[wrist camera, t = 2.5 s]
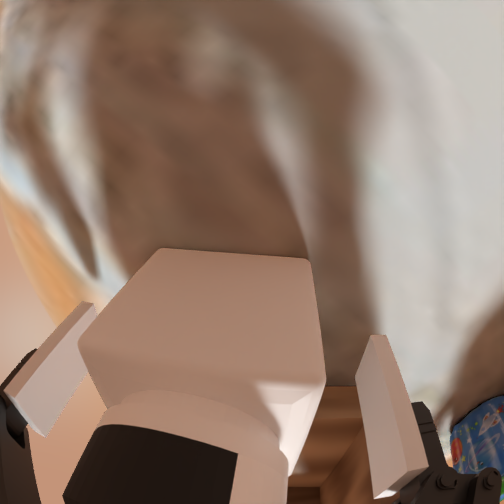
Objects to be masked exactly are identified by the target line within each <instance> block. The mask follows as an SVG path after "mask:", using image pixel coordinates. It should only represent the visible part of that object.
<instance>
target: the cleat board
mask: <svg viewBox="0 0 504 504" xmlns="http://www.w3.org/2000/svg"><path fill="white" fill-rule="evenodd" d="M399 497H400V492H399V491H398V492H397V493H395V494H394V495H393V496H389V497H383V498H377V499H374V497H373V488H372V479H371V471H370V463H369V456H368V449H367V443H366V436H365V430H364V424H363V418H362V412H361V407H360V402H359V396H358V391H357V386H325V387H324V390H323V393H322V396H321V399H320V402H319V405H318V408H317V411H316V414H315V416H314V419H313V422H312V425H311V427H310V430H309V433H308V435H307V438H306V440H305V443H304V446H303V448H302V451H301V453H300V455H299V458H298V460H297V463H296V465H295V467H294V470H293V472H292V474H291V475H290V476H289V477H288V487H287V502H286V504H391V503H392V502H394V501H395V500H397V499H398V498H399Z"/></svg>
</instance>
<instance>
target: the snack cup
mask: <svg viewBox="0 0 504 504" xmlns="http://www.w3.org/2000/svg"><path fill="white" fill-rule="evenodd" d="M450 446H451V455H452V461H453V469H455V470H456V471H457V473H461V474H478V473H479V472H481V471H482V470H483V469H485V468H487V467H493V468H496V469H497V470H498V471H499V472H500V474H501V476H502V487H501V496H500V501H502V500H503V499H504V396H498V397H495V398H492V399H490V400H489V401H486V402H484V403H482V405H480V406H479V407H477V408H476V409H474V410H473V411H472V412H470V413H469V414H468V415H467V416H466V417H465V418H464V419H463V420H462V421H461V422H460V423H458V424H457V425H455V426H454V428H453V432H452V434H451V436H450Z"/></svg>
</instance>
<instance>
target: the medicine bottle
mask: <svg viewBox="0 0 504 504" xmlns="http://www.w3.org/2000/svg"><path fill="white" fill-rule="evenodd" d="M77 344H78V349H79V352H80V354H81V356H82V359H83V361H84V363H85V365H86V367H87V370H88V372H89V374H90V376H91V378H92V380H93V382H94V384H95V386H96V388H97V390H98V392H99V394H100V396H101V398H102V400H103V402H104V403H105V405H106V407H107V410H106V411H105V412H104V414H103V416H102V418H101V420H100V422H99V424H98V425H97V427H96V429H95V431H94V433H93V435H92V437H91V439H90V441H89V442H88V444H87V446H86V448H85V450H84V452H83V454H82V456H81V458H80V460H79V462H78V464H77V466H76V468H75V470H74V473H73V474H72V476H71V479H70V481H69V483H68V485H67V487H66V489H65V491H64V493H63V495H62V496H63V499H64V502H65V504H286V502H287V487H288V477H289V476H290V475H291V474H292V472H293V470H294V467H295V465H296V463H297V460H298V458H299V455H300V453H301V451H302V448H303V446H304V443H305V440H306V438H307V435H308V433H309V430H310V427H311V425H312V422H313V419H314V416H315V414H316V411H317V408H318V405H319V402H320V399H321V396H322V393H323V390H324V387H325V384H326V371H325V362H324V354H323V345H322V337H321V330H320V322H319V315H318V308H317V301H316V294H315V288H314V281H313V275H312V269H311V263H310V262H309V261H308V260H307V259H304V258H293V257H279V256H266V255H252V254H238V253H225V252H211V251H198V250H185V249H171V248H161V249H158V250H157V251H156V252H155V253H154V254H153V255H152V256H151V257H150V258H149V259H148V261H147V262H146V263H145V264H144V265H143V266H142V267H141V268H140V269H139V270H138V271H137V272H136V273H135V274H134V276H133V277H132V278H131V279H130V280H129V281H128V282H127V283H126V284H125V285H124V287H123V288H122V289H121V290H120V291H119V292H118V293H117V294H116V295H115V297H114V298H113V299H112V300H111V301H110V302H109V303H108V305H107V306H106V307H105V308H104V309H103V310H102V311H101V313H100V314H99V315H98V316H97V317H96V318H95V320H94V321H93V322H92V323H91V324H90V326H89V327H88V328H87V329H86V330H85V332H84V333H83V334H82V335H81V336H80V338H79V340H78V342H77Z"/></svg>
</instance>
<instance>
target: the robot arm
mask: <svg viewBox="0 0 504 504" xmlns="http://www.w3.org/2000/svg"><path fill="white" fill-rule="evenodd" d="M96 317H97V313H96V309H95V306H94V304H93V303H88V302H84V301H82V302H81V303H80V304H79V305H78V306H77V307H76V308H75V309H74V310H73V312H72V313H71V314H70V315H69V316H68V317H67V318H66V319H65V320H64V321H63V322H62V323H61V324H60V325H59V326H58V327H57V328H56V330H55V331H54V332H53V333H52V334H51V335H50V336H49V337H48V338H47V339H46V341H45V342H44V343H43V344H42V345H41V346H40V347H39V348H38V349H34V350H32V351H31V352H29V353H28V354H27V355H26V356H25V357H24V358H23V359H22V360H21V363H19V364H18V365H17V366H16V368H14V370H13V371H12V372H11V373H10V374H9V376H8V377H7V378H6V379H5V381H4V382H3V383H2V384H1V386H0V504H41V501H40V497H39V493H38V488H37V484H36V479H35V474H34V469H33V463H32V457H31V450H30V443H29V434H28V430H27V428H26V426H27V424H29V425H30V426H31V428H32V429H33V430H34V431H36V432H37V433H39V434H40V435H42V436H44V437H45V438H46V437H47V435H48V434H49V432H50V430H51V429H52V427H53V425H54V424H55V422H56V420H57V419H58V417H59V416H60V414H61V413H62V411H63V409H64V408H65V406H66V405H67V403H68V402H69V400H70V398H71V397H72V395H73V394H74V392H75V391H76V389H77V388H78V386H79V385H80V383H81V382H82V380H83V379H84V377H85V376H86V374H87V373H88V370H87V367H86V365H85V363H84V361H83V359H82V356H81V354H80V352H79V349H78V344H77V342H78V340H79V338H80V336H81V335H82V334H83V333H84V332H85V330H86V329H87V328H88V327H89V326H90V324H91V323H92V322H93V321H94V320H95V318H96ZM355 381H356V386H357V391H358V396H359V402H360V407H361V412H362V418H363V424H364V430H365V436H366V443H367V449H368V456H369V463H370V471H371V479H372V488H373V497H374V499H377V498H383V497H389V496H393V495H394V494H395V493H397V492H398V491H399V492H400V497H399V498H398V499H397V500H395V501H394V502H392V503H391V504H499V503H500V496H501V487H502V476H501V474H500V472H499V471H498V470H497V469H496V468H493V467H487V468H485V469H483V470H482V471H481V472H479V473H478V474H461V473H457V471H456V470H455V469H453V468H452V467H449V466H448V465H447V463H446V460H445V457H444V453H443V450H442V447H441V443H440V440H439V437H438V434H437V432H436V428H435V425H434V424H433V419H432V416H431V413H430V410H429V409H428V408H427V407H426V406H425V404H424V403H423V402H414V403H411V402H410V399H409V396H408V393H407V390H406V387H405V384H404V382H403V379H402V376H401V373H400V370H399V367H398V365H397V362H396V359H395V357H394V354H393V351H392V349H391V346H390V344H389V341H388V339H387V336H386V335H370V338H369V341H368V343H367V346H366V349H365V352H364V354H363V357H362V360H361V362H360V365H359V367H358V370H357V372H356V375H355Z"/></svg>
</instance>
